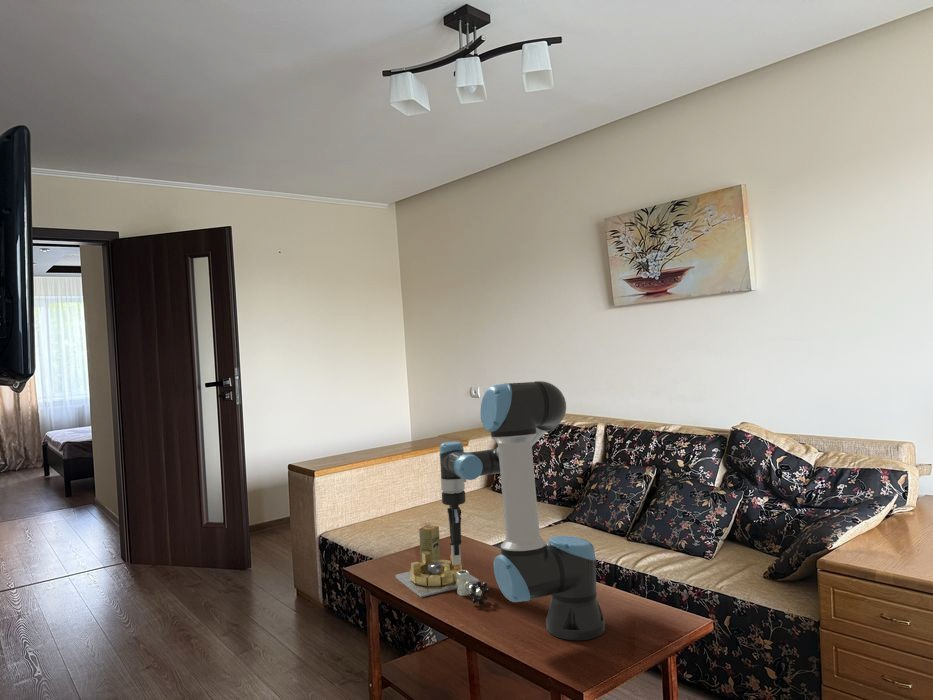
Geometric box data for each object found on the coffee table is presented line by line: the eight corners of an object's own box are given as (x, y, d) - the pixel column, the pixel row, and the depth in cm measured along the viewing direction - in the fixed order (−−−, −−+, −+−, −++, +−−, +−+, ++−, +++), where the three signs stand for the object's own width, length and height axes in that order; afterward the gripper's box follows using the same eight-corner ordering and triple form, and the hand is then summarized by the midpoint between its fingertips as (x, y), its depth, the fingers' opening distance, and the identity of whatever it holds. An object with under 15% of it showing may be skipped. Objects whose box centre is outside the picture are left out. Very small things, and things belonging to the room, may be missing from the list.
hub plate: (479, 583, 202) (478, 567, 202) (421, 597, 192) (420, 580, 192) (450, 565, 219) (449, 550, 219) (395, 577, 210) (394, 562, 210)
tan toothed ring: (471, 578, 202) (470, 560, 202) (423, 590, 195) (423, 571, 195) (447, 563, 217) (446, 547, 217) (402, 574, 209) (401, 556, 209)
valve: (450, 594, 194) (470, 607, 184) (449, 572, 194) (469, 584, 184) (469, 589, 197) (490, 601, 187) (468, 567, 197) (489, 579, 187)
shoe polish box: (420, 563, 223) (419, 528, 222) (428, 558, 227) (426, 525, 227) (433, 565, 220) (431, 530, 220) (440, 560, 224) (438, 526, 224)
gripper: (468, 494, 199) (471, 569, 199) (462, 485, 212) (465, 556, 212) (444, 496, 198) (447, 572, 198) (439, 487, 211) (442, 558, 211)
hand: (456, 564), depth 205 cm, fingers closed
